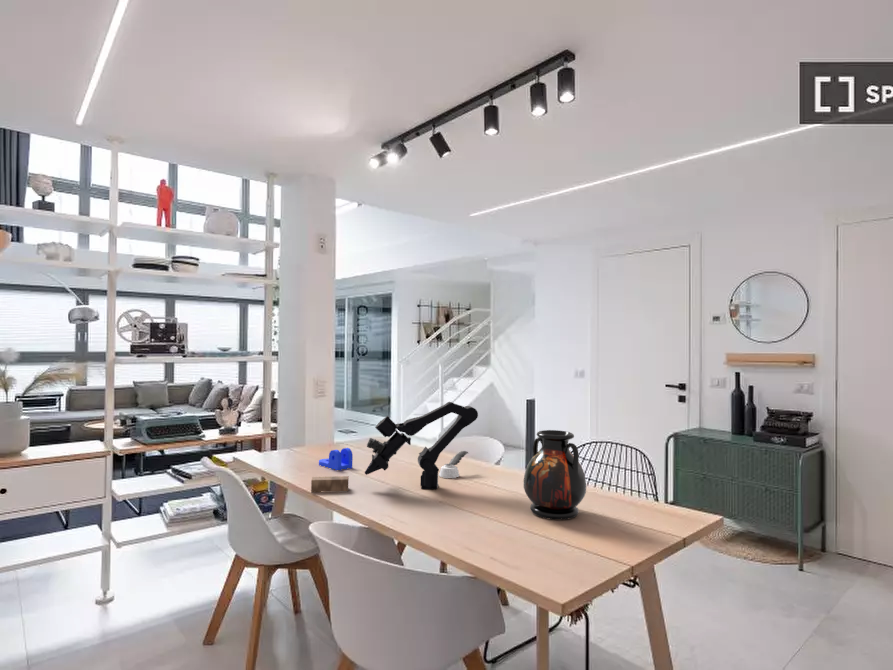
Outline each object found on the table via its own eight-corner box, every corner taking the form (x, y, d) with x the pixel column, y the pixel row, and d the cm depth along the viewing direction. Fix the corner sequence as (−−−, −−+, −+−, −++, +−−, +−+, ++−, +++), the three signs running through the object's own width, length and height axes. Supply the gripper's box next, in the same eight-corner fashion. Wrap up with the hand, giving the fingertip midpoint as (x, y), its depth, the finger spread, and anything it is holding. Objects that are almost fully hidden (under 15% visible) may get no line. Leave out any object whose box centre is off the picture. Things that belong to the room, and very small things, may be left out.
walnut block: (348, 476, 209) (312, 476, 207) (348, 479, 204) (311, 480, 202) (348, 488, 209) (312, 489, 207) (347, 492, 204) (311, 493, 202)
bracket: (352, 468, 243) (352, 449, 243) (337, 471, 237) (337, 451, 237) (330, 462, 255) (330, 443, 256) (315, 464, 249) (315, 445, 250)
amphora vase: (510, 511, 183) (511, 431, 184) (549, 500, 197) (550, 426, 197) (559, 528, 166) (561, 440, 167) (598, 515, 180) (599, 434, 181)
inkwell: (434, 476, 231) (434, 453, 231) (459, 469, 244) (459, 448, 245) (450, 479, 225) (450, 456, 225) (475, 472, 239) (475, 450, 239)
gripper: (378, 427, 218) (351, 455, 216) (379, 435, 200) (350, 465, 198) (396, 446, 219) (370, 473, 217) (400, 455, 201) (371, 485, 199)
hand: (365, 473), depth 208 cm, fingers closed
